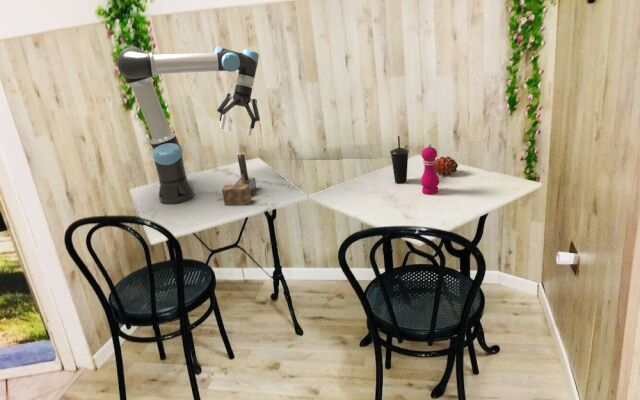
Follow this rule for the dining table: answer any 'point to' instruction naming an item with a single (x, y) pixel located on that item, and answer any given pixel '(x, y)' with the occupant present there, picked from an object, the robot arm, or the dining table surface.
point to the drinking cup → (400, 163)
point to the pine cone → (445, 166)
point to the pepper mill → (429, 171)
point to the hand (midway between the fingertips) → (235, 132)
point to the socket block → (236, 194)
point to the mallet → (243, 170)
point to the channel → (250, 185)
